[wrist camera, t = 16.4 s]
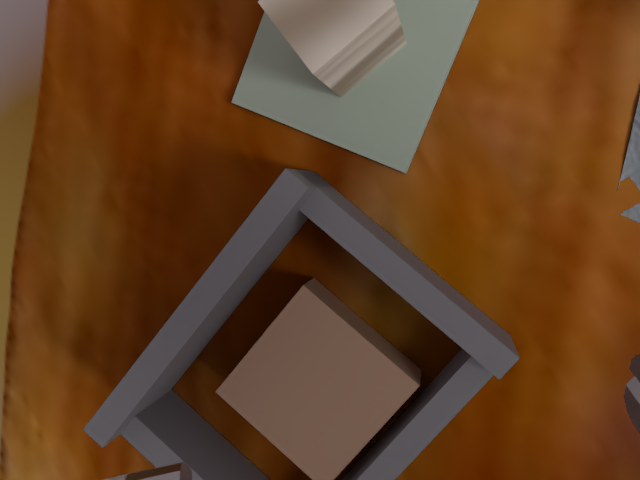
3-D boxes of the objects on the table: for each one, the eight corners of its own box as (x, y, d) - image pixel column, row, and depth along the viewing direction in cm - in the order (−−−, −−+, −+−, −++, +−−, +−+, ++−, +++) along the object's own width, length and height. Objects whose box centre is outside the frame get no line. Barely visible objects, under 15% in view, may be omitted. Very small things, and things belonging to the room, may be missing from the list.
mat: (487, -18, 35) (487, -22, 35) (406, 173, 37) (405, 173, 37) (302, -82, 37) (299, -86, 37) (234, 103, 39) (231, 102, 39)
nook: (510, 335, 37) (524, 369, 30) (312, 547, 41) (285, 620, 34) (314, 171, 38) (285, 168, 32) (141, 390, 42) (82, 429, 36)
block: (406, 43, 36) (395, 3, 28) (341, 97, 37) (312, 73, 29) (361, -16, 36) (337, -71, 28) (297, 40, 37) (257, 1, 30)
